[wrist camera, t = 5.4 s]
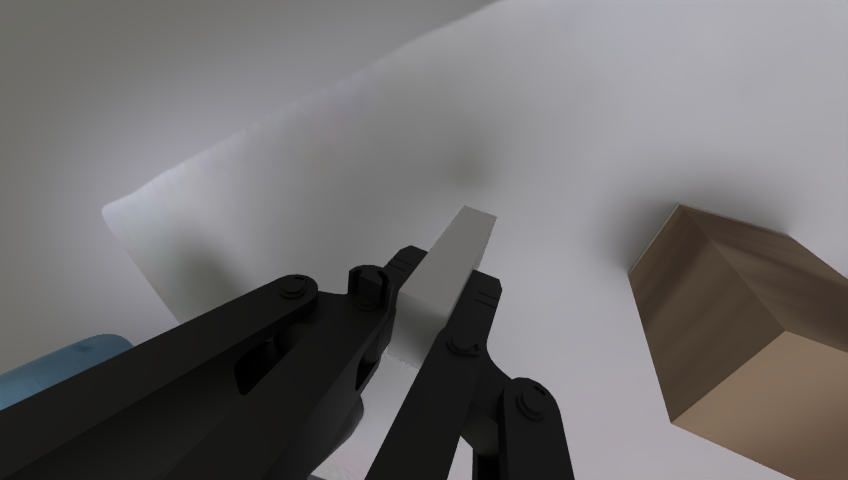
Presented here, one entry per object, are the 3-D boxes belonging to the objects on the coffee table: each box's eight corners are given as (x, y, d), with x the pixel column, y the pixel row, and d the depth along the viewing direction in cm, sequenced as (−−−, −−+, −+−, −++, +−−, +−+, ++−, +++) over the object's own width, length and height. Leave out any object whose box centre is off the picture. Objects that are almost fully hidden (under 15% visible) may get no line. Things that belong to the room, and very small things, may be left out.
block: (627, 273, 19) (670, 423, 11) (678, 202, 16) (785, 330, 8) (717, 306, 18) (841, 500, 10) (788, 235, 15) (1037, 421, 7)
